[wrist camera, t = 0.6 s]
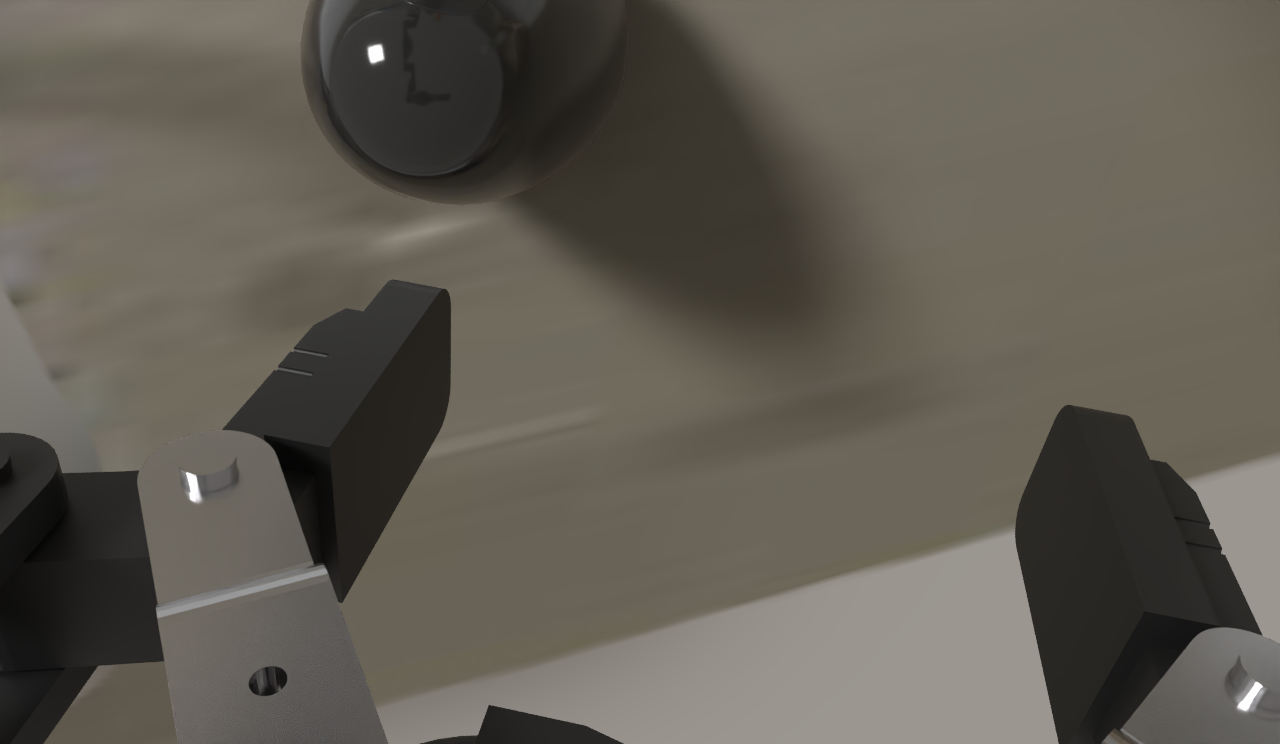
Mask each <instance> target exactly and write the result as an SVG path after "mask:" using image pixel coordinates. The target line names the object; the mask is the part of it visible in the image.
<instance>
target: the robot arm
mask: <svg viewBox="0 0 1280 744" xmlns="http://www.w3.org/2000/svg"><path fill="white" fill-rule="evenodd" d="M450 373H451V302H450V296H449V293H448V291H447V290H446V289H442V288H436V287H431V286H425V285H420V284H414V283H409V282H403V281H398V280H390V281H388V282H387V283H386V284H385V286H384V287H383V288H382V289H381V291H380V292H379V293H378V294H377V296H376V297H375V298H374V299H373V300H372V302H371V303H370V304H369V305H368V307H367V308H366V309H365V310H364V312H363V311H358V310H352V309H347V308H346V309H344V310H342V311H340V312H338V313H336V314H334V315H332V316H330V317H328V318H326V319H325V320H323V321H321V322H319V323H317V324H315V325H313V327H312V328H311V329H310V330H309V331H308V332H307V333H306V335H305V336H304V337H303V338H302V339H301V340H300V341H299V343H298V344H297V345H296V346H295V347H294V352H290V353H289V354H288V355H287V356H286V357H285V359H284V360H283V361H282V362H281V363H280V364H279V365H278V370H277V371H276V370H274V371H273V372H272V373H271V375H270V376H269V377H268V378H267V379H266V380H265V381H264V383H263V384H262V385H261V386H260V387H259V388H258V389H257V391H256V392H255V393H254V394H253V395H252V396H251V397H250V399H249V400H248V401H247V402H246V403H245V404H244V405H243V406H242V408H241V409H240V410H239V411H238V412H237V413H236V414H235V416H234V417H233V418H232V419H231V420H230V421H229V422H228V424H227V425H226V426H225V427H224V428H223V429H222V430H211V431H204V432H198V433H194V434H190V435H186V436H183V437H180V438H178V439H175V440H173V441H171V442H169V443H167V444H165V445H164V446H162V447H160V448H159V449H157V450H156V451H155V452H154V453H152V454H151V455H150V456H149V457H148V458H147V459H146V461H145V462H144V463H143V465H142V466H141V468H140V470H139V471H124V472H92V473H62V471H61V468H60V464H59V460H58V457H57V454H56V452H55V450H54V449H53V448H52V447H51V446H50V445H49V444H48V443H47V442H45V441H43V440H42V439H39V438H36V437H34V436H30V435H26V434H18V433H0V744H43V743H44V742H45V740H46V739H47V738H48V736H49V735H50V733H51V732H52V731H53V729H54V728H55V726H56V725H57V723H58V722H59V721H60V719H61V718H62V716H63V715H64V713H65V712H66V711H67V709H68V708H69V706H70V705H71V704H72V702H73V701H74V699H75V698H76V696H77V695H78V694H79V692H80V691H81V689H82V688H83V686H84V685H85V683H86V682H87V681H88V679H89V678H90V677H91V675H92V674H93V672H94V671H95V669H96V668H97V666H99V665H115V664H130V663H144V662H159V661H164V662H165V668H166V674H167V679H168V685H169V691H170V697H171V703H172V709H173V715H174V721H175V727H176V733H177V739H178V744H388V742H387V739H386V736H385V733H384V730H383V727H382V724H381V722H380V719H379V716H378V713H377V710H376V707H375V705H374V702H373V699H372V696H371V693H370V690H369V688H368V685H367V682H366V679H365V676H364V673H363V671H362V668H361V665H360V662H359V659H358V656H357V654H356V651H355V648H354V645H353V642H352V639H351V637H350V634H349V631H348V628H347V625H346V622H345V620H344V617H343V614H342V611H341V608H340V605H339V603H338V602H340V603H342V602H343V601H344V599H345V597H346V595H347V594H348V592H349V590H350V588H351V586H352V585H353V583H354V581H355V579H356V578H357V576H358V574H359V572H360V571H361V569H362V567H363V565H364V564H365V562H366V560H367V558H368V556H369V555H370V553H371V551H372V549H373V548H374V546H375V544H376V542H377V541H378V539H379V537H380V535H381V534H382V532H383V530H384V528H385V526H386V525H387V523H388V521H389V519H390V518H391V516H392V514H393V512H394V511H395V509H396V507H397V505H398V504H399V502H400V500H401V498H402V496H403V495H404V493H405V491H406V489H407V488H408V486H409V484H410V482H411V481H412V479H413V477H414V475H415V474H416V472H417V470H418V468H419V466H420V465H421V463H422V461H423V459H424V458H425V456H426V454H427V452H428V451H429V449H430V447H431V445H432V444H433V442H434V440H435V438H436V436H437V435H438V433H439V431H440V429H441V427H442V424H443V421H444V419H445V415H446V411H447V407H448V402H449V396H450ZM1209 526H1210V522H1209V519H1208V517H1207V515H1206V513H1205V511H1204V509H1203V507H1202V505H1201V502H1200V500H1199V498H1198V496H1197V494H1196V492H1195V491H1194V490H1193V489H1192V488H1191V487H1190V486H1189V485H1188V484H1187V483H1186V482H1185V481H1184V480H1183V479H1182V478H1181V477H1180V476H1179V475H1178V474H1177V473H1176V472H1175V471H1174V470H1173V469H1172V468H1171V467H1170V466H1169V465H1168V464H1167V463H1166V462H1160V461H1155V460H1150V459H1149V456H1148V454H1147V452H1146V449H1145V447H1144V444H1143V442H1142V440H1141V437H1140V435H1139V433H1138V430H1137V428H1136V426H1135V423H1134V421H1133V420H1132V418H1131V417H1129V416H1127V415H1122V414H1116V413H1111V412H1105V411H1100V410H1094V409H1089V408H1083V407H1078V406H1072V405H1066V406H1064V407H1063V408H1062V409H1061V410H1060V412H1059V413H1058V415H1057V417H1056V419H1055V421H1054V423H1053V425H1052V428H1051V430H1050V432H1049V435H1048V437H1047V439H1046V442H1045V444H1044V446H1043V449H1042V451H1041V453H1040V456H1039V458H1038V460H1037V463H1036V465H1035V467H1034V470H1033V472H1032V474H1031V477H1030V479H1029V481H1028V484H1027V486H1026V488H1025V491H1024V493H1023V495H1022V498H1021V501H1020V504H1019V508H1018V513H1017V518H1016V528H1015V537H1016V547H1017V552H1018V556H1019V560H1020V566H1021V570H1022V575H1023V580H1024V584H1025V589H1026V593H1027V598H1028V602H1029V607H1030V612H1031V616H1032V621H1033V625H1034V630H1035V635H1036V639H1037V644H1038V649H1039V653H1040V658H1041V663H1042V667H1043V672H1044V676H1045V681H1046V686H1047V690H1048V695H1049V700H1050V705H1051V709H1052V713H1053V718H1054V723H1055V727H1056V732H1057V737H1058V742H1059V744H1280V644H1279V643H1277V642H1275V641H1273V640H1271V639H1268V638H1266V637H1264V636H1263V635H1262V633H1261V631H1260V629H1259V627H1258V625H1257V623H1256V621H1255V618H1254V616H1253V614H1252V612H1251V610H1250V608H1249V605H1248V603H1247V601H1246V599H1245V597H1244V595H1243V592H1242V590H1241V588H1240V586H1239V584H1238V582H1237V580H1236V577H1235V575H1234V573H1233V571H1232V569H1231V567H1230V565H1229V562H1228V560H1227V558H1226V556H1225V555H1222V554H1221V550H1222V547H1221V545H1220V543H1219V541H1218V539H1217V537H1216V535H1215V532H1214V530H1213V529H1209ZM421 744H623V743H621V742H619V741H617V740H615V739H612V738H610V737H608V736H606V735H604V734H602V733H600V732H598V731H596V730H593V729H591V728H589V727H587V726H584V725H579V724H575V723H570V722H565V721H561V720H556V719H551V718H547V717H542V716H538V715H533V714H528V713H524V712H518V711H514V710H510V709H505V708H501V707H495V706H491V705H489V706H488V709H487V712H486V715H485V718H484V720H483V723H482V726H481V729H480V731H479V734H478V735H477V736H458V737H451V738H444V739H437V740H433V741H430V742H425V743H421Z"/></svg>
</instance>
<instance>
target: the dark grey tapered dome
mask: <svg viewBox="0 0 1280 744" xmlns="http://www.w3.org/2000/svg"><path fill="white" fill-rule="evenodd" d="M628 52H629V28H628V18H627V11H626V6H625V1H624V0H310V1H309V4H308V8H307V11H306V15H305V20H304V24H303V30H302V38H301V70H302V78H303V84H304V88H305V92H306V96H307V100H308V103H309V106H310V108H311V111H312V113H313V116H314V118H315V120H316V122H317V124H318V126H319V128H320V130H321V131H322V133H323V135H324V136H325V138H326V139H327V141H328V142H329V144H330V145H331V146H332V147H333V149H334V150H335V151H336V152H337V153H338V154H339V156H340V157H341V158H342V159H343V160H344V161H345V162H346V163H348V164H349V165H350V166H351V167H352V168H353V169H354V170H356V171H357V172H358V173H360V174H361V175H362V176H364V177H365V178H367V179H368V180H370V181H371V182H373V183H375V184H376V185H378V186H380V187H382V188H384V189H386V190H388V191H390V192H393V193H395V194H398V195H400V196H403V197H406V198H409V199H413V200H417V201H421V202H426V203H431V204H439V205H474V204H482V203H488V202H492V201H497V200H501V199H504V198H507V197H510V196H513V195H516V194H519V193H521V192H523V191H526V190H528V189H530V188H532V187H534V186H536V185H538V184H540V183H541V182H543V181H545V180H547V179H548V178H550V177H551V176H553V175H554V174H556V173H557V172H559V171H560V170H561V169H563V168H564V167H565V166H567V165H568V164H569V163H570V162H572V161H573V160H574V159H575V158H576V157H577V156H579V155H580V154H581V153H582V152H583V151H584V150H585V149H586V148H587V146H588V145H589V144H590V143H591V142H592V141H593V140H594V138H595V137H596V136H597V134H598V133H599V132H600V130H601V129H602V127H603V126H604V124H605V123H606V121H607V119H608V118H609V116H610V114H611V112H612V110H613V108H614V106H615V104H616V101H617V99H618V96H619V93H620V91H621V88H622V84H623V81H624V77H625V72H626V67H627V61H628Z"/></svg>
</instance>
